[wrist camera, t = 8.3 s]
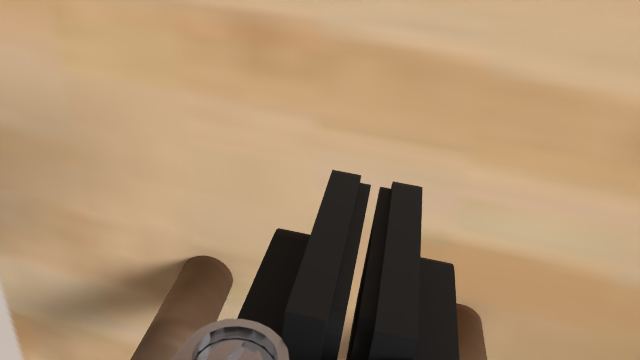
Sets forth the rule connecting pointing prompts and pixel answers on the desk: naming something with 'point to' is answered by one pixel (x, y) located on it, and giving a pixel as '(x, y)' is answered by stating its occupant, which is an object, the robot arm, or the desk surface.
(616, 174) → the desk surface
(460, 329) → the post near arm
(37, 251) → the desk surface
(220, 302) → the post near camera
